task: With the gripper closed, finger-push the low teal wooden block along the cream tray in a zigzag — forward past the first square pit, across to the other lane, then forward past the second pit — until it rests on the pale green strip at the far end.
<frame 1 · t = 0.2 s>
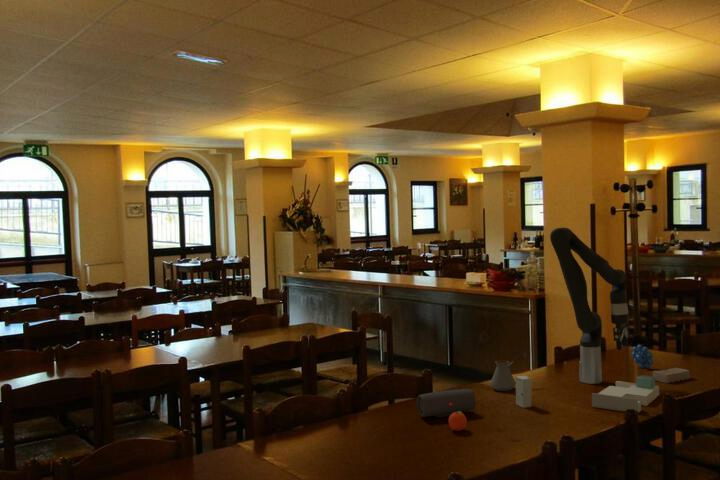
hand: (622, 348, 301), 17 cm above the table, tool pointing down, fingers open, 8 cm apart
tray: (626, 400, 277), on the table
brick: (671, 380, 309), on the table
skincare box: (524, 406, 277), on the table
clementine: (458, 430, 249), on the table
coffee pot: (510, 387, 308), on the table
block: (645, 386, 284), point 4 cm above the table, touching tray
grapes: (641, 368, 333), on the table
bluetooth speaker: (446, 415, 269), on the table
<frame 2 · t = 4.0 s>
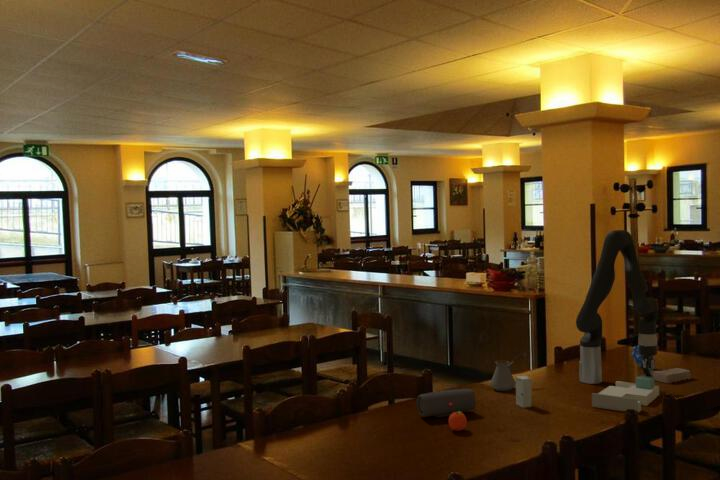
hand: (649, 382, 287), 5 cm above the table, tool pointing down, fingers closed
block: (645, 386, 283), point 4 cm above the table, touching gripper
everything else where it was.
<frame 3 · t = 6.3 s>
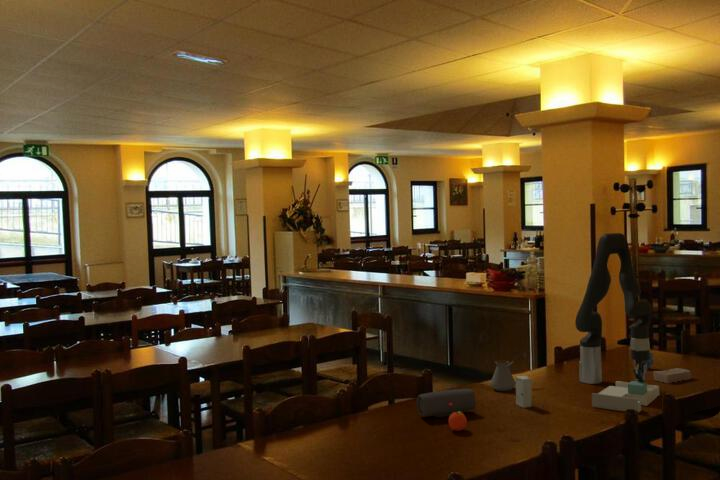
hand: (641, 388, 279), 5 cm above the table, tool pointing down, fingers closed
block: (637, 392, 274), point 4 cm above the table, touching gripper, tray
everything else where it was.
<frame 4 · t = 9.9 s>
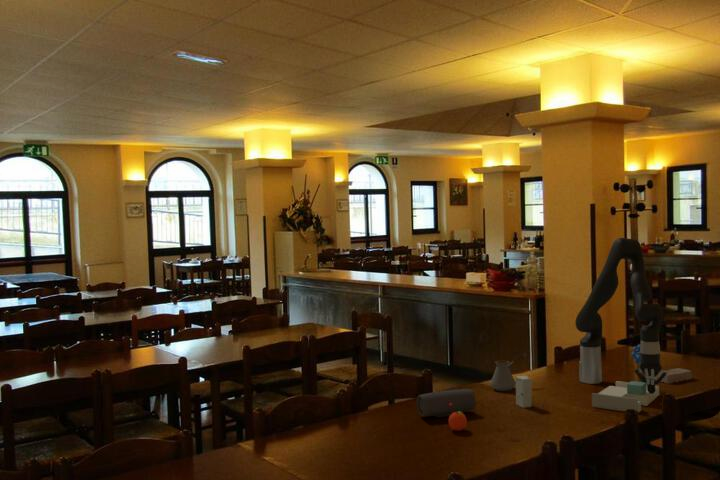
hand: (651, 393, 272), 4 cm above the table, tool pointing down, fingers closed
nothing on the table moved.
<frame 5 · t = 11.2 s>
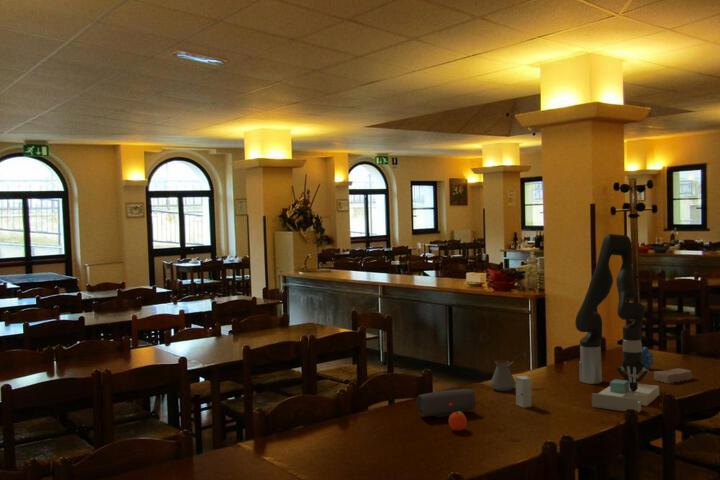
hand: (633, 390, 276), 4 cm above the table, tool pointing down, fingers closed
block: (619, 390, 279), point 4 cm above the table, touching gripper, tray
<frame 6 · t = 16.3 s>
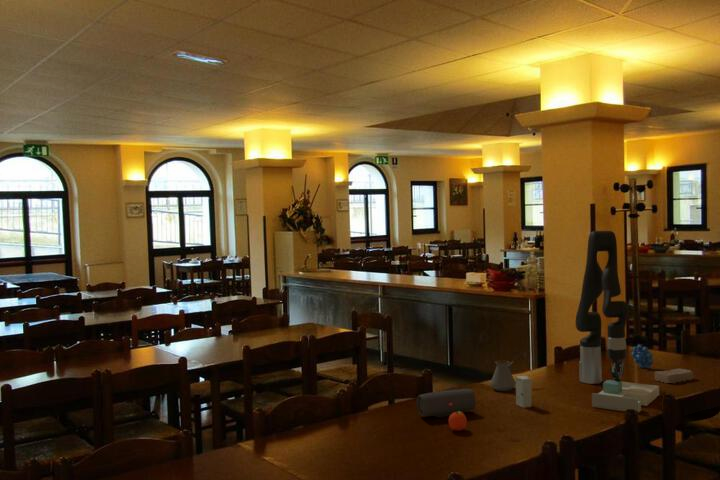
hand: (618, 387, 282), 5 cm above the table, tool pointing down, fingers closed
block: (612, 391, 279), point 4 cm above the table, touching gripper, tray
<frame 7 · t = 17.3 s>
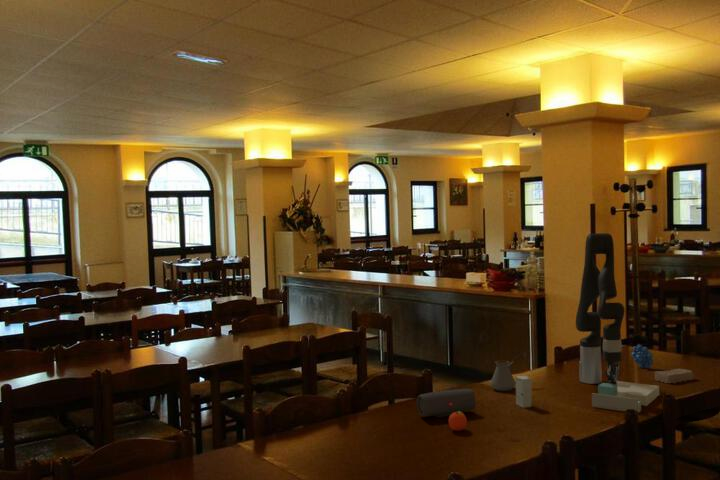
hand: (613, 390, 278), 5 cm above the table, tool pointing down, fingers closed
block: (607, 394, 274), point 4 cm above the table, touching gripper, tray
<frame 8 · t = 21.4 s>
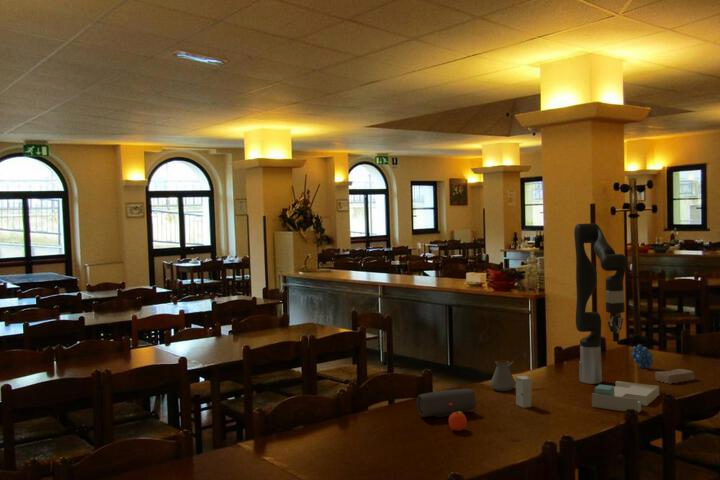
hand: (616, 341, 279), 25 cm above the table, tool pointing down, fingers closed
block: (604, 396, 272), point 4 cm above the table, touching tray
at the end: block 0.9 cm from the target spot on the tray, point 3.8 cm above the tray's base; block tilted 2° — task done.
